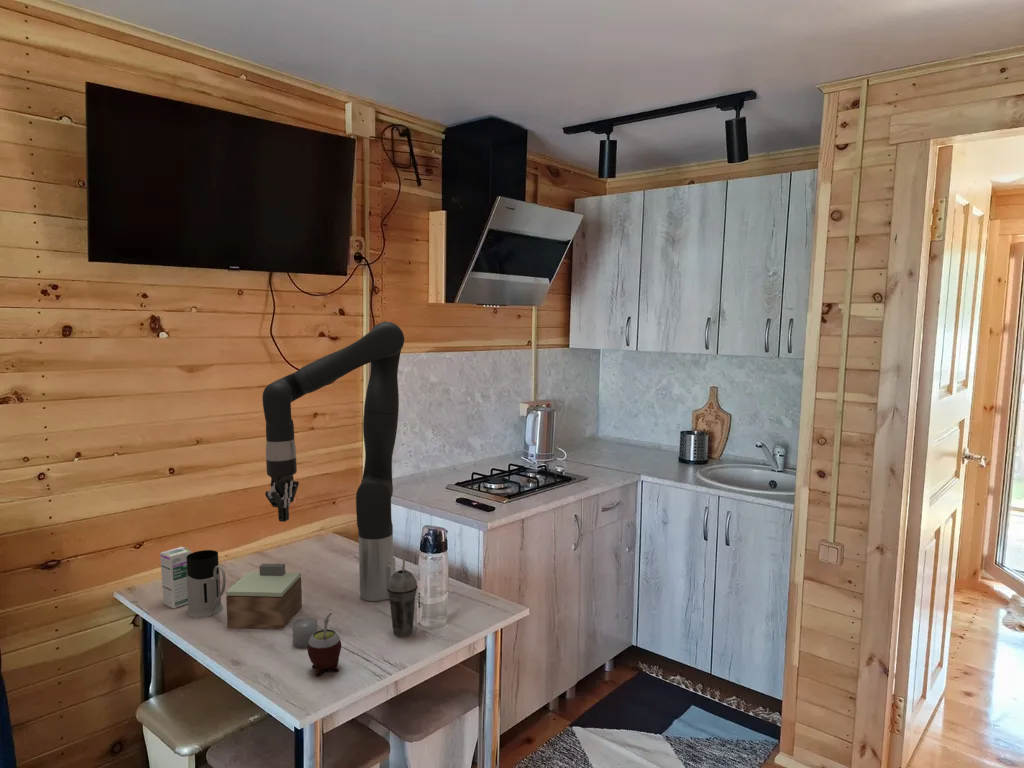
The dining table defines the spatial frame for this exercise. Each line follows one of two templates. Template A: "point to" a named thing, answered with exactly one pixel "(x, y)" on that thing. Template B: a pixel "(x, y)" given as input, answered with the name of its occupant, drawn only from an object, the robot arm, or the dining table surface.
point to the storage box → (264, 609)
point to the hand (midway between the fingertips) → (283, 520)
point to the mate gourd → (324, 649)
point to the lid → (265, 582)
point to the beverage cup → (402, 601)
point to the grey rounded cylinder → (303, 631)
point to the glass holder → (204, 584)
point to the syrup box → (174, 576)
